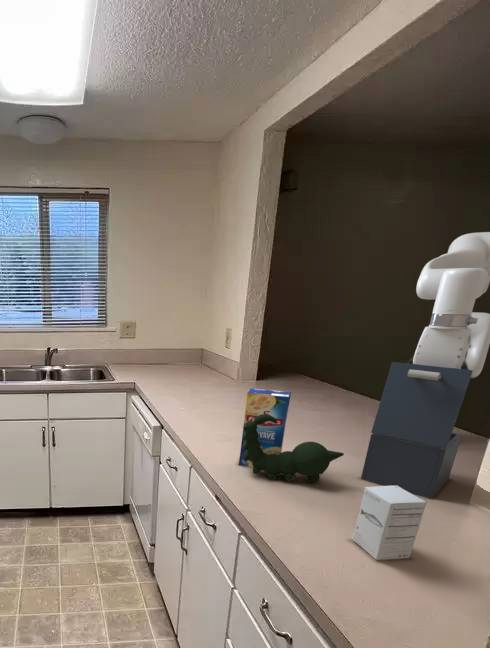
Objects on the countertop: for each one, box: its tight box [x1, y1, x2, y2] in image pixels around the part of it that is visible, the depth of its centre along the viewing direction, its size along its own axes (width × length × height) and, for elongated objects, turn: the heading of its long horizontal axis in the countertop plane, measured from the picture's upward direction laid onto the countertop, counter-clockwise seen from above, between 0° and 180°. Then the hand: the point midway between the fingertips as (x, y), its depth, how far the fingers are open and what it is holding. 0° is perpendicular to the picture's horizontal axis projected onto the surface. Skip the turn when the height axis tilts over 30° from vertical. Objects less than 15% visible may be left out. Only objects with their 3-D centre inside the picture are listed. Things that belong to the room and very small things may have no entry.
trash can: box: [360, 432, 463, 499], centre depth 118 cm, size 18×16×13 cm
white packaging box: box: [351, 485, 427, 561], centre depth 86 cm, size 7×7×13 cm
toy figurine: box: [242, 414, 345, 484], centre depth 118 cm, size 9×19×25 cm
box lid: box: [370, 361, 473, 449], centre depth 106 cm, size 19×16×5 cm
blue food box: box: [238, 387, 292, 468], centre depth 127 cm, size 7×11×22 cm, turn 62°
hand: (429, 394), depth 113 cm, fingers closed on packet, 3 cm apart
